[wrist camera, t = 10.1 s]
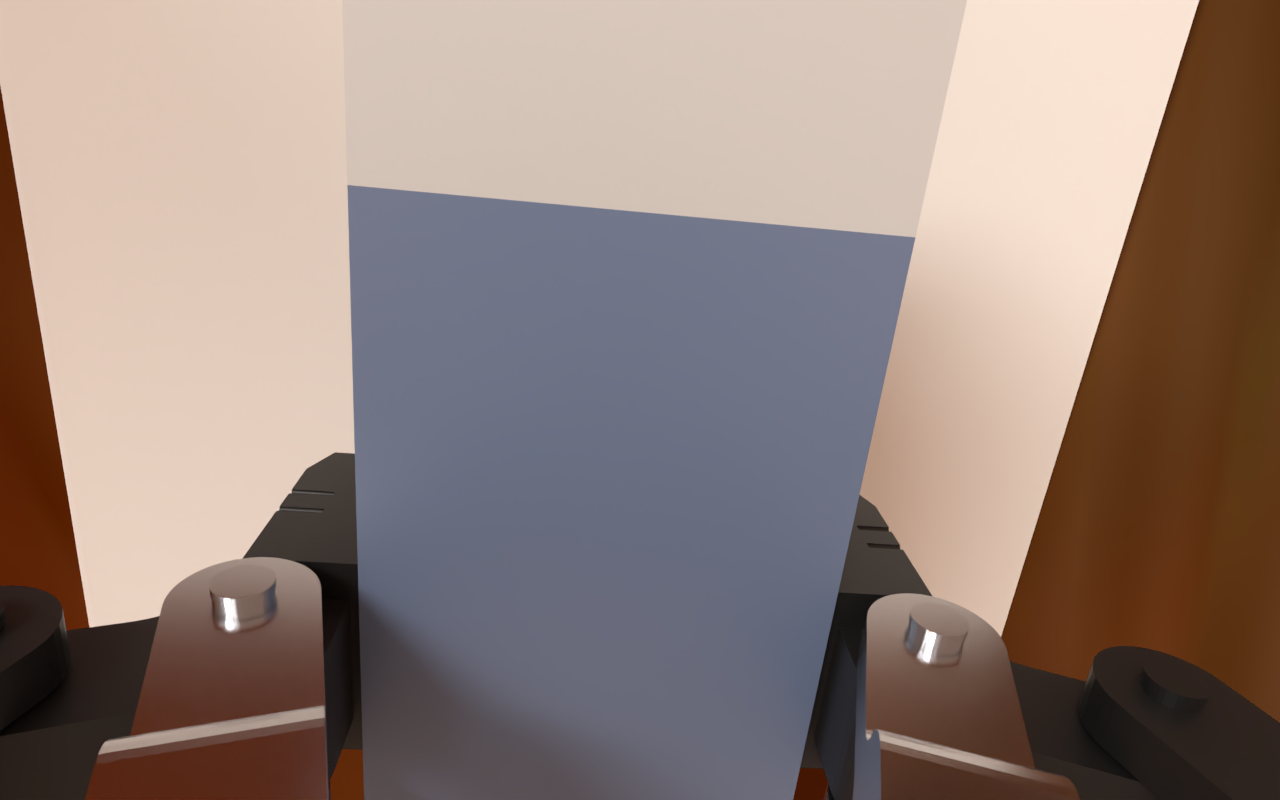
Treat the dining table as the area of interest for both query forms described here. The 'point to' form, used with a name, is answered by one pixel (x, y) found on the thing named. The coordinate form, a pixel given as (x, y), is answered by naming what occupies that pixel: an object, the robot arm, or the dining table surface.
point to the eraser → (619, 375)
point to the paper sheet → (320, 271)
